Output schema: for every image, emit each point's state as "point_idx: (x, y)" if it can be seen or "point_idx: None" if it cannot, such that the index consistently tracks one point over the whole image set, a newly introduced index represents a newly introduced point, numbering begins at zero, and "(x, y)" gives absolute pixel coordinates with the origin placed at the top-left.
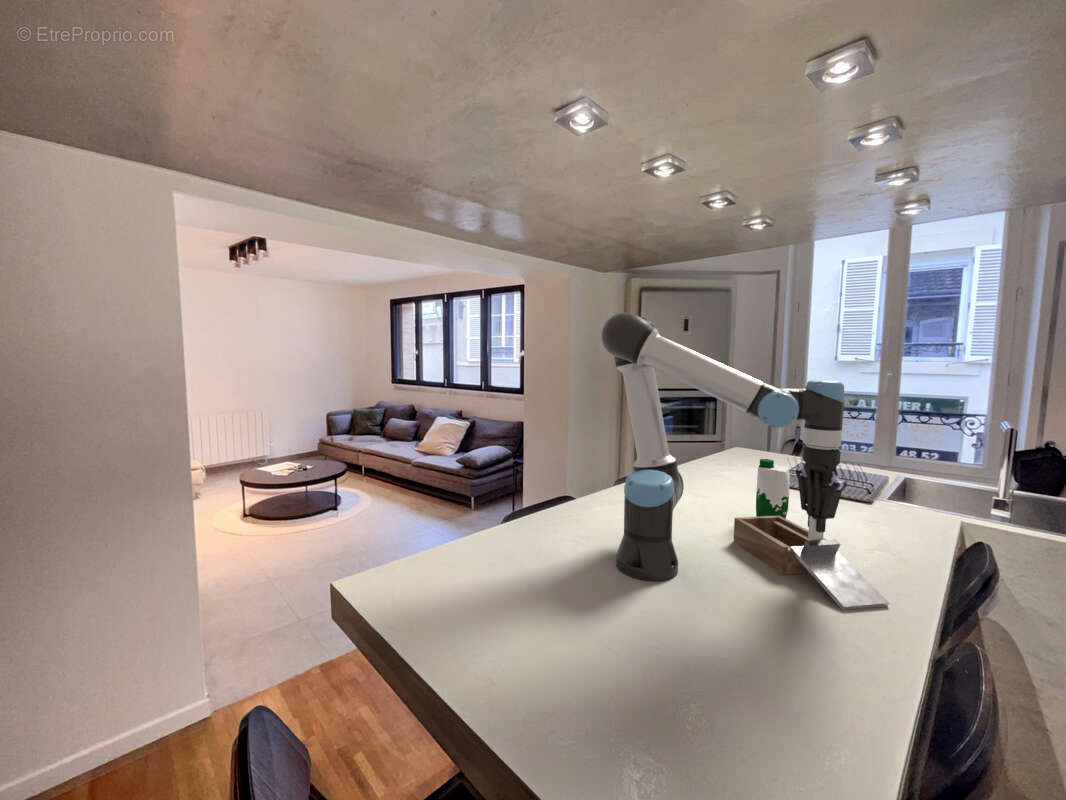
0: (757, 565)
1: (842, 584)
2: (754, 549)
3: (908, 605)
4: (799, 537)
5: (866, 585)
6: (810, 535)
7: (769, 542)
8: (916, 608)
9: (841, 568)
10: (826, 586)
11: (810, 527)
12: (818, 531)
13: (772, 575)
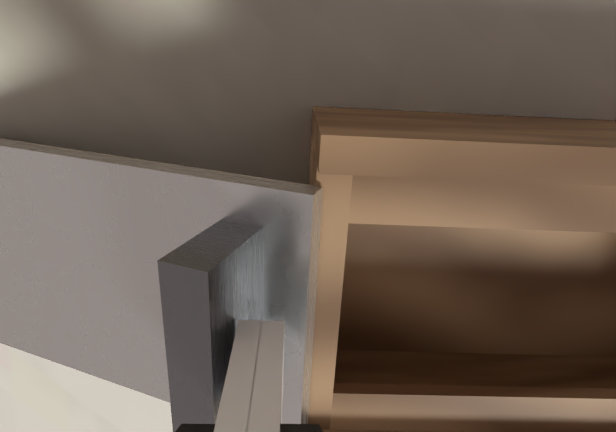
0: (440, 48)
1: (54, 247)
2: (564, 123)
3: (28, 398)
4: (487, 388)
5: (61, 344)
6: (260, 363)
7: (474, 136)
8: (8, 405)
9: (141, 335)
10: (31, 152)
11: (257, 420)
12: (189, 429)
13: (318, 48)
